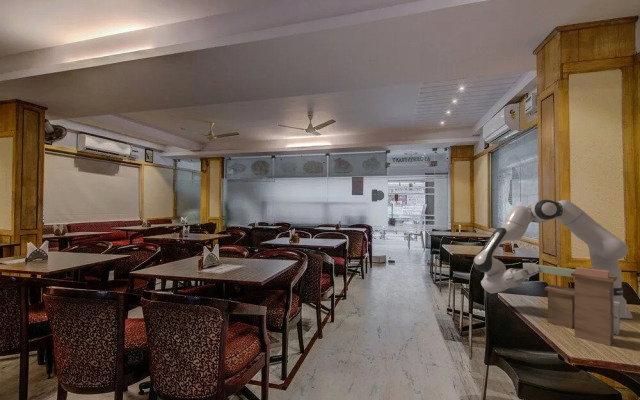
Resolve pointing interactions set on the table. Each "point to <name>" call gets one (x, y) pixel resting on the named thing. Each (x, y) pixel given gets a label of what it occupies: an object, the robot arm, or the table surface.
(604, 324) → the brown wooden tall block
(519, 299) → the table surface
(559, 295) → the low shelf
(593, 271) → the terracotta rod
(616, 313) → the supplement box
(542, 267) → the sage rod
